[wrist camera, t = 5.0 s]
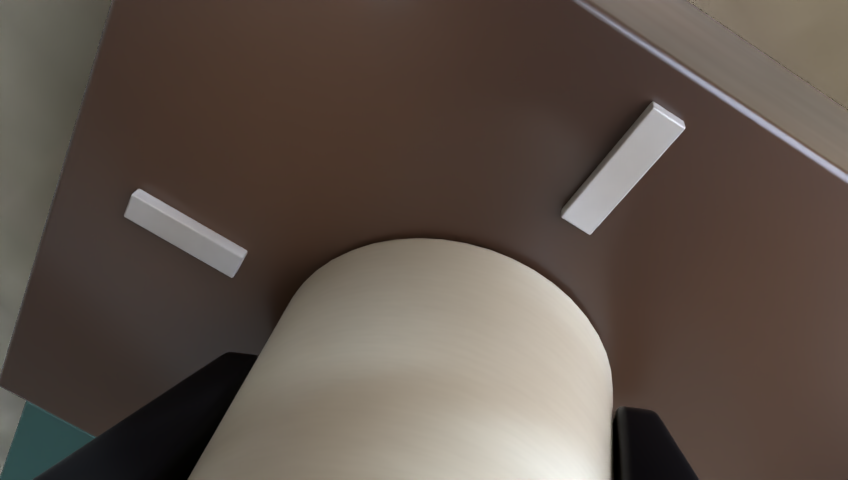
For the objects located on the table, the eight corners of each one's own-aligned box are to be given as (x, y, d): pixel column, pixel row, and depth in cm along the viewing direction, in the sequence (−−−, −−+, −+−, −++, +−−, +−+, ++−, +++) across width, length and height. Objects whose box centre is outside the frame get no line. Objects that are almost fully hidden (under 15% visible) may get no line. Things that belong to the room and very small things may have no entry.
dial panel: (986, 203, 10) (1131, 368, 7) (570, 528, 15) (563, 695, 12) (310, -258, 8) (176, -269, 6) (107, 270, 13) (-14, 393, 11)
